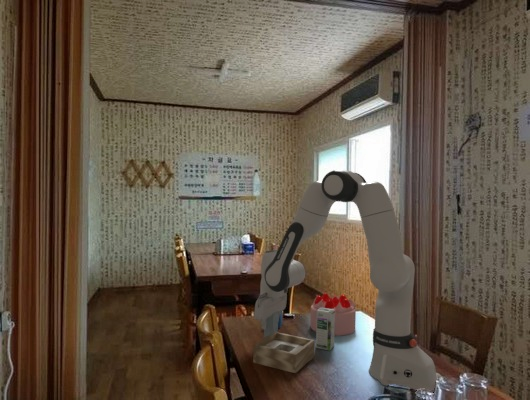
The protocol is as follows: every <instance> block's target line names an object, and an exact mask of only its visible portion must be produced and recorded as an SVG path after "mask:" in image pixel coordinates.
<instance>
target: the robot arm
mask: <svg viewBox="0 0 530 400" xmlns="http://www.w3.org/2000/svg"><path fill="white" fill-rule="evenodd" d="M336 202H338V203H339V202H340V203H354V204H355V206H356V207H357V210H358V212H359V216H360V220H361V221H360V222H361V224H362V226H363V228H362V229H363V231H364V235H365V240H366V244H367V253H368V254H367V255H368V262H369V269H370V270H369V271H370V272H369V278H370V281H371V283H372V286H374V287H375V288H376V289H377V291H378V292H377V297H376V302H375V306H374V328H373V332H372V344H373V345H372V346H373V349H372V358H371V362H370V365H369V369H368V373H369V375H370V376H371V377H372V378H375V379H376V380H377V381H379V382H380V383H381V385H382V386H385V385H389V384H396V385H403V386H408V387H410V388H413V389H418V388H425V389H429V390H434V388H435V382H436V379H437V378H438V377H442V378H443V376H442V375H441V374H440V373H438V372H437V371H436V366H435V362H434V360H433V359H432V358H431V356H430V355H428V353H426V352H425V351H424V350H423V349H421V347H420V346H418V335H417V334H414V333H412V332H411V321H412V320H411V319H412V318H411V316H412V303H413V302H412V301H413V295H414V294H413V293H414V285H415V272H416V266H415V264H414V261H413V260H412V258H411V257H410V256H408V255H407V254H404V251H403V246H402V237H401V236H402V235H401V230H400V226H399V223H398V220H397V215H396V213H395V210H394V205H393V203H392V200H391V197H390V196H389V193H388V192H387V190H386V187H385V186H384V185H383V183H381V182H379V181H368V182H367V181H366V179H365V178H364V177H363V176H362V175H361V174H360V173H357V172H353V171H351V170H346V169H335V170H334V169H333V170H331V171H329V172H327V173H326V174H325V175H324V177H323V178H322V180H314V181H312V182H310V183H309V185H308V187H307V188H306V190H305V191H304V194H303V196H302V197H301V201H300V204H299V205H298V208H297V211H296V213H295V216H294V218H293V220H292V222H291V223H290V225H289V227H287V230H286V231H285V233H284V236H283V237H282V240H281V242H280V243H279V247H278V249H274V250H266V251H264V252H263V254H262V257H261V262H260V263H261V264H260V274H261V280H260V289H259V290H260V291H259V295H258V298H257V300H256V301H255V305H254V313H253V314H254V319H255V320H258V321H259V322H260V325H261V330H263V331H264V330H265V329H267V324H266V320H267V318H268V317H270V316H272V314H273V313H275V312H278V322H279V316H280V313H281V311H282V310H283V311H284V310H285V309H286V307H287V299H288V295H287V293H288V291H289V290H288V289H289V288H293V287H295V286H298V285H300V284H302V283H303V282H304V280H305V278H306V275H307V272H306V271H307V270H306V268H305V265H304V264H303V263H302V262H300V261H299V260H295V259H294V258H295V256H296V253H297V252H298V249H299V247H300V246H301V245H302V244H303V243H304V242H305V241H306V240H308V239H309V238H311V237H313V236H314V235H316V234H319V232H321V230H322V229H323V227H324V226H325V224H326V222H327V219H328V216H329V214H330V211H331V207H332V206H333V205H334V203H336Z"/></svg>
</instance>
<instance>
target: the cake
mask: <svg viewBox="0 0 530 400" xmlns="http://www.w3.org/2000/svg"><path fill="white" fill-rule="evenodd" d="M315 296H316V297H315V298H314V300H313V302H312V304H311V306H310V316H309V317H310V321H309V322H310V324H309V325H310V329H311V330H313V331H314V332H315V333H316V323H317V310H318V309H319V308H328V309H335V330H334V337H335V336H347V335H351V334H354V332H355V331H356V318H357V317H356V308H357V304H356V303H355V302H354V301H353V300H352V298H351V297H350V298H349V299H348V298H347V296H346V295H345V294H341V295H340V296H337V294H336V293H334V296H333V297H330V295H329V294H328V293H326V292H324V293H323V294H322V296H320V295H318V294H315Z"/></svg>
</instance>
